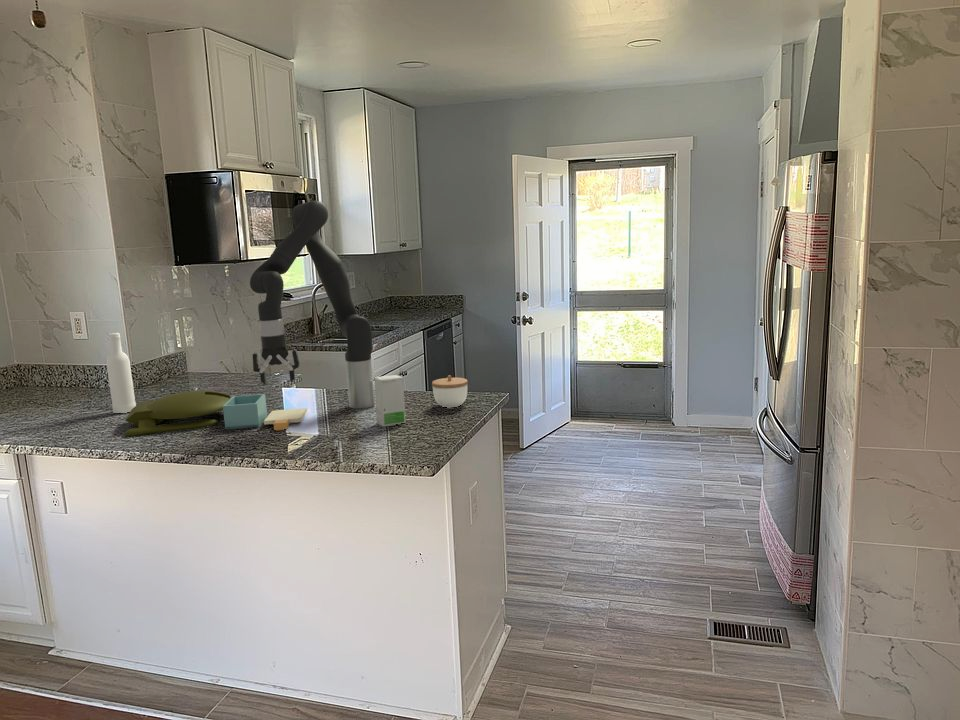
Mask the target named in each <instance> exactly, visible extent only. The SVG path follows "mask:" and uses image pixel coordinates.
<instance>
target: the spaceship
mask: <svg viewBox="0 0 960 720" xmlns="http://www.w3.org/2000/svg"><path fill="white" fill-rule="evenodd" d="M232 397H233V396H230V395H228V394H226V393H224V392H219V391H213V390H191V391H189V390H188V391H181V392H176V393H172V394H169V395H165V396H162V397H160V398H157V399H155V400H146V401H140V402H139V403H137V404H136V406H135V407H134V408H133V409H131V411H130V413H128V414H127V416H126V418H125V420H124V421H126V422H128V423H130V424H132V425H134V426H136V427H133V428H129V429H127V430H125V431H124V435H125V436H127V437H137V436H138V437H139V436H146V435H155V434H163V432H164V433H170V432H171V431H172V432H179V430H180V431H187V430H186V429H188V430H195V429H194V428H196V429H202V428H201V427H205V428H208V427H207V426H212V427H215V426H217V425H218V424H219V421H218V420H217V419H214V418H208V419H199V420H193V421H192V420H191V421H183V422H175V423H174V422H173V423H165V424H160V423H162V422H163V421H164V420H174V419H185V418H186V419H187V418H194V417H199V416H206V415H210V414H214V413H219V412H221V411H223V405H224V404H225V403H227V402H228V401H229V400H230V399H231V398H232ZM214 425H215V426H214Z"/></svg>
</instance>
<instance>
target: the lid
mask: <svg viewBox="0 0 960 720" xmlns="http://www.w3.org/2000/svg"><path fill="white" fill-rule="evenodd" d="M307 412H308V408H307V407H305V408H302V407H301V408H292V409H291V408H290V409H278V410H277V409H276V410H271V412H270V413H269V414H267V417H266V419H265V420H264V421H263V425H273V430H276V431H285V430H284V429H287V428H288V429H289V427H290V424H296V423H300V422H302V421H303V419H304V417H305V416H306V414H307ZM288 426H289V427H288ZM288 429H287V430H288Z"/></svg>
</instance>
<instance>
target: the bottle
mask: <svg viewBox="0 0 960 720" xmlns="http://www.w3.org/2000/svg"><path fill="white" fill-rule="evenodd" d="M108 340H109V345H110V354H108V355H107V358H106V370H107V376H108V383H109V392H110V397H111V403H112V404H111V407H112V411H113V414H114V413H126V414H128V413H127V412H130V411H131V409H133V408H134V407H135V406H137V404H136V398H135V392H134V390H135V389H134V383H133V382H134V381H133V377H132V369H131V361H130V357H128V354H126V353H125V352H124V351H123V348H122V340H121V334H120V332H111V333H109V334H108Z"/></svg>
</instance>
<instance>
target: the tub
mask: <svg viewBox="0 0 960 720" xmlns="http://www.w3.org/2000/svg"><path fill="white" fill-rule="evenodd" d="M231 397H232V398H231V399H230V400H229V401H228V402H227V403H225V404H224V405H223V410H222V411H223V419H224V428H225V429H226V430H236V428H239V429H249V428H252V429H253V428H259V427H261V425H262V424H264V420H265V419H266V418H267V416H268V410H267V399H266V394H265V393H262V394H261V393H259V394H258V393H257V394H245V395H233V396H231Z"/></svg>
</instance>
